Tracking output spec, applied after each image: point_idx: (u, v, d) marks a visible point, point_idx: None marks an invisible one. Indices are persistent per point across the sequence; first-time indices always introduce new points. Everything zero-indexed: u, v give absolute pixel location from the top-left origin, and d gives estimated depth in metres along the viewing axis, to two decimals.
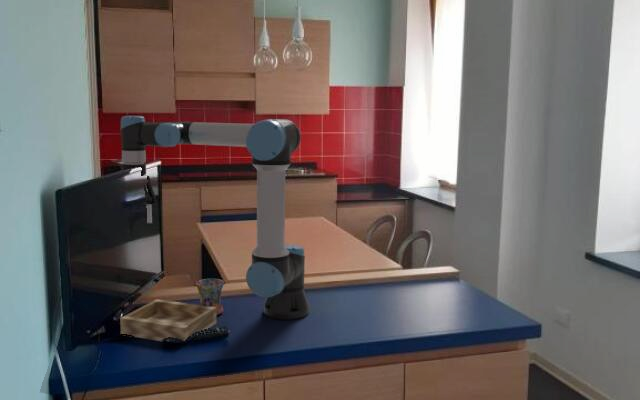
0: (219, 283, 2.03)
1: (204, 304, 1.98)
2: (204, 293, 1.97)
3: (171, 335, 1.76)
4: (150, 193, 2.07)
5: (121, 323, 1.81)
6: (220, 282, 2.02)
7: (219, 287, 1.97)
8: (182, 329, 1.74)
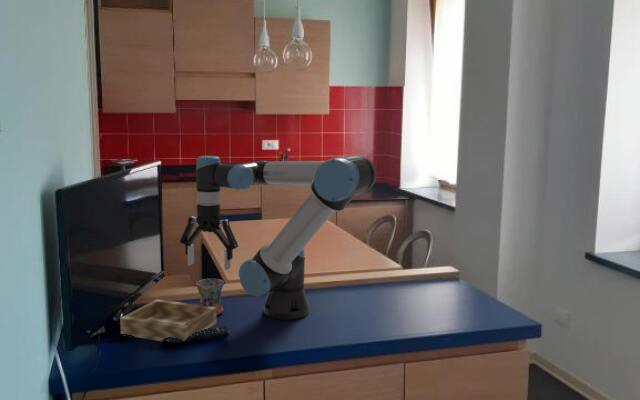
0: (219, 283, 2.03)
1: (204, 304, 1.98)
2: (204, 293, 1.97)
3: (171, 335, 1.76)
4: None
5: (121, 323, 1.81)
6: (220, 282, 2.02)
7: (219, 287, 1.97)
8: (182, 329, 1.74)
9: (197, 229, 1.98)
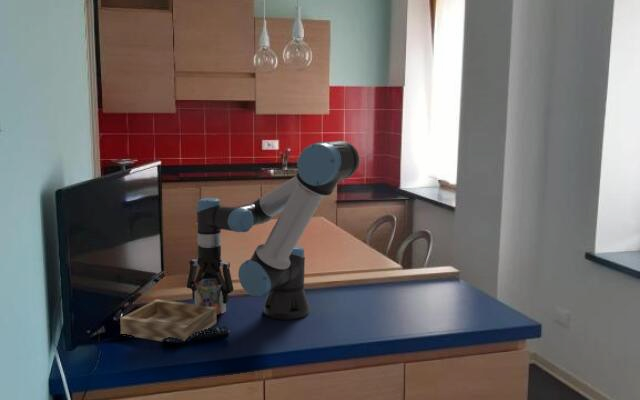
0: None
1: (203, 304, 1.98)
2: (203, 293, 1.97)
3: (171, 335, 1.76)
4: None
5: (121, 323, 1.81)
6: None
7: (218, 287, 1.97)
8: (182, 329, 1.74)
9: (200, 271, 2.00)
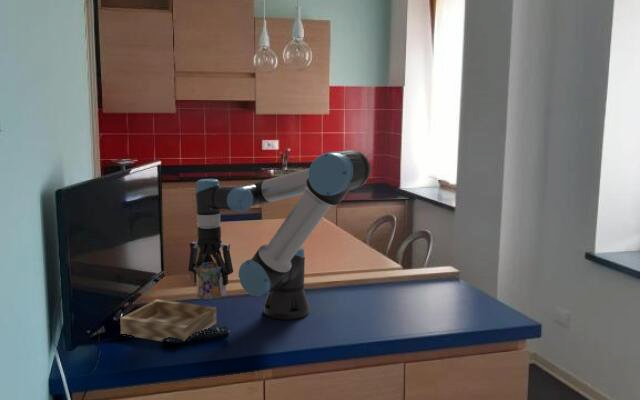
0: None
1: (204, 287, 1.96)
2: (203, 276, 1.95)
3: (171, 335, 1.76)
4: None
5: (121, 323, 1.81)
6: None
7: (218, 269, 1.96)
8: (182, 329, 1.74)
9: (200, 253, 1.99)
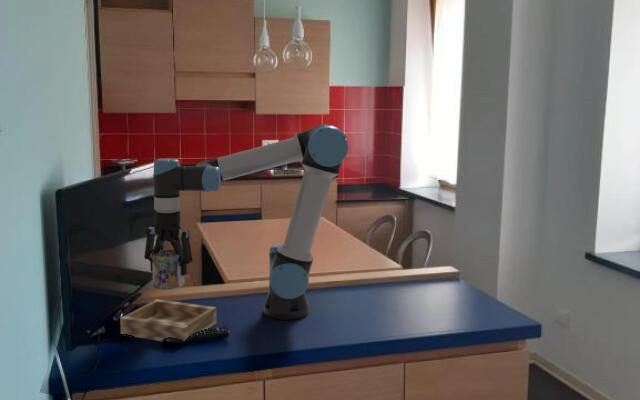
0: None
1: (159, 277, 1.80)
2: (159, 264, 1.79)
3: (171, 335, 1.76)
4: None
5: (121, 323, 1.81)
6: None
7: (176, 258, 1.80)
8: (182, 329, 1.74)
9: (157, 240, 1.82)
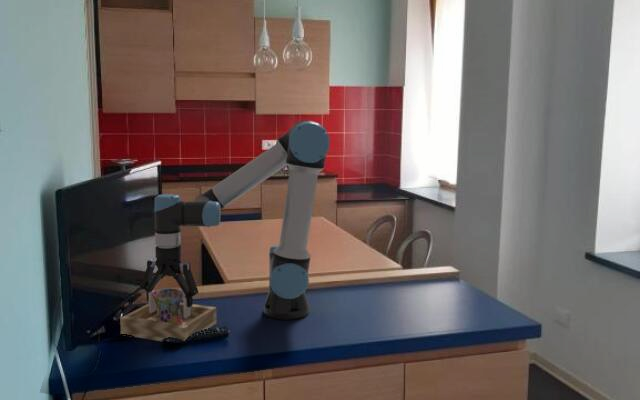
0: (178, 293, 1.87)
1: (161, 317, 1.82)
2: (161, 305, 1.81)
3: (171, 335, 1.76)
4: None
5: (121, 323, 1.81)
6: (179, 292, 1.87)
7: (177, 298, 1.82)
8: (182, 329, 1.74)
9: (157, 273, 1.84)
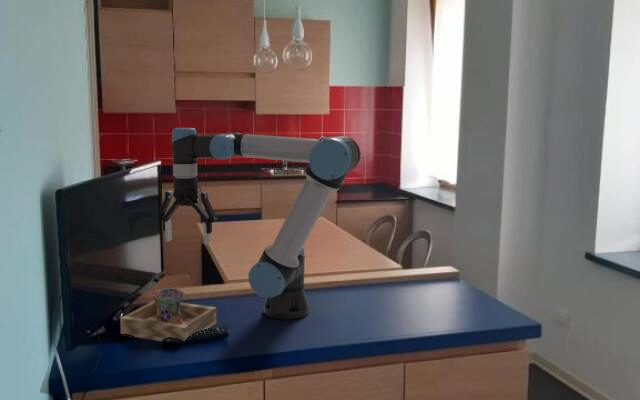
0: (178, 294, 1.87)
1: (161, 317, 1.82)
2: (161, 305, 1.81)
3: (171, 335, 1.76)
4: None
5: (121, 323, 1.81)
6: (179, 293, 1.87)
7: (178, 298, 1.82)
8: (182, 329, 1.74)
9: (174, 203, 1.93)
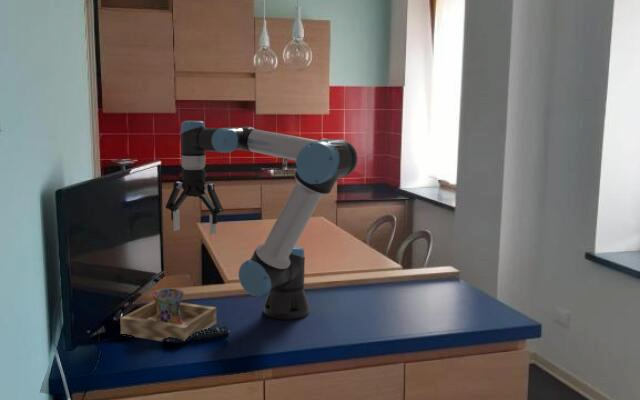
0: (178, 294, 1.87)
1: (161, 317, 1.82)
2: (161, 305, 1.81)
3: (171, 335, 1.76)
4: None
5: (121, 323, 1.81)
6: (179, 293, 1.87)
7: (178, 298, 1.82)
8: (182, 329, 1.74)
9: (182, 194, 1.99)
